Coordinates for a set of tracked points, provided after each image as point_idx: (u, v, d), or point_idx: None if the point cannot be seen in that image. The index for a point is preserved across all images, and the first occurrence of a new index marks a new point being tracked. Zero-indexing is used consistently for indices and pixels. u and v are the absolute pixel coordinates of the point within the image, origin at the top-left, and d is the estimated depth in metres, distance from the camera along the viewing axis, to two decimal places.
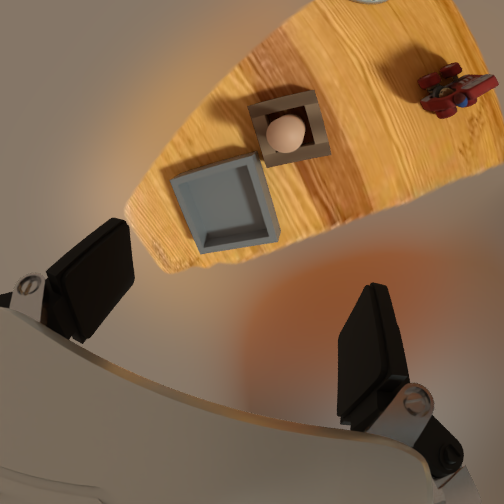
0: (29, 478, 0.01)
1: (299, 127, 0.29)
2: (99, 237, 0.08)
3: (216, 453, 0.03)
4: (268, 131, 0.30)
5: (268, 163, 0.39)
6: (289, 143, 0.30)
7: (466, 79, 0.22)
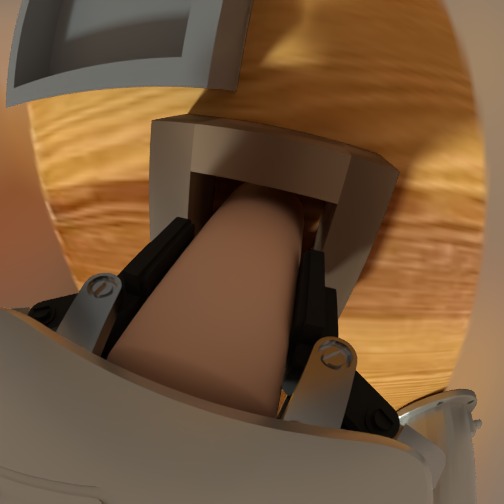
0: (29, 478, 0.01)
1: None
2: (171, 236, 0.09)
3: (216, 454, 0.03)
4: (227, 385, 0.05)
5: (163, 132, 0.10)
6: None
7: None
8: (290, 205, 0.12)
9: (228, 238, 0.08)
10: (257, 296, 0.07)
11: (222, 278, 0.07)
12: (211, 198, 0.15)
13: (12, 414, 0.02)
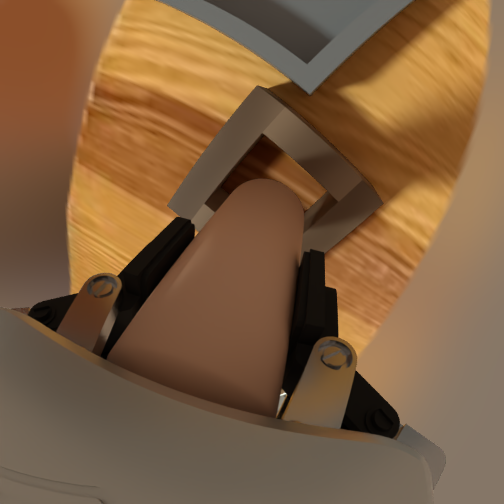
0: (29, 478, 0.01)
1: None
2: (171, 236, 0.09)
3: (216, 453, 0.03)
4: (227, 385, 0.05)
5: (260, 98, 0.13)
6: None
7: None
8: (290, 205, 0.12)
9: (228, 237, 0.08)
10: (257, 296, 0.07)
11: (222, 278, 0.07)
12: None
13: (12, 414, 0.02)
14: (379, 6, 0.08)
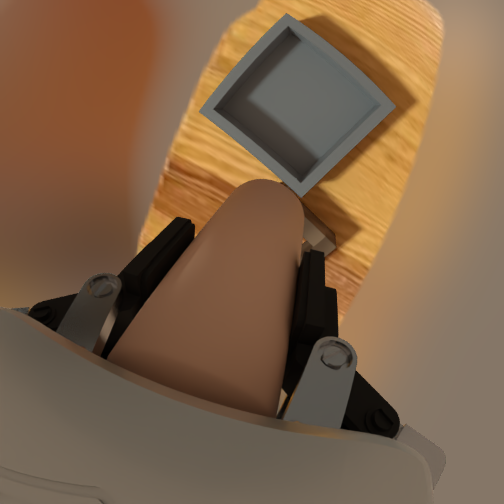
0: (29, 478, 0.01)
1: None
2: (171, 236, 0.09)
3: (217, 454, 0.03)
4: (227, 387, 0.05)
5: None
6: None
7: None
8: (290, 206, 0.12)
9: (228, 239, 0.08)
10: (257, 297, 0.07)
11: (222, 279, 0.07)
12: None
13: (12, 414, 0.02)
14: (341, 147, 0.26)
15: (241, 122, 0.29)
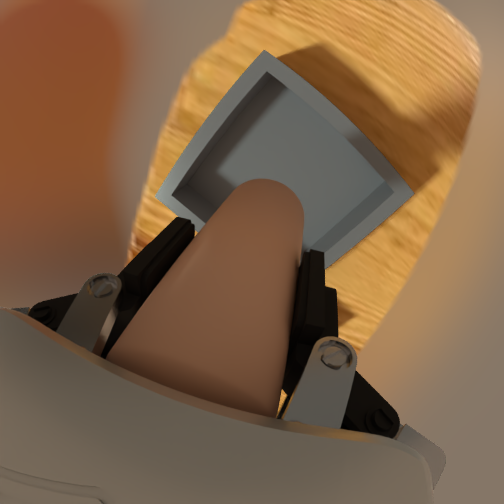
0: (29, 478, 0.01)
1: None
2: (171, 236, 0.09)
3: (217, 454, 0.03)
4: (227, 387, 0.05)
5: None
6: None
7: None
8: (290, 205, 0.12)
9: (227, 238, 0.08)
10: (257, 297, 0.07)
11: (222, 278, 0.07)
12: None
13: (12, 414, 0.02)
14: (335, 248, 0.21)
15: (211, 202, 0.25)
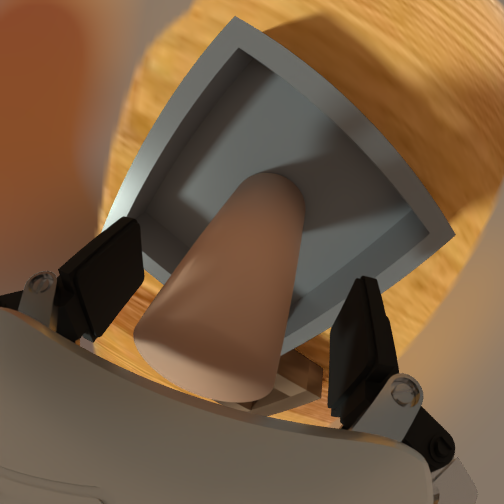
0: (29, 478, 0.01)
1: (215, 398, 0.08)
2: (111, 236, 0.08)
3: (216, 453, 0.03)
4: (235, 345, 0.06)
5: None
6: (168, 361, 0.08)
7: None
8: (292, 197, 0.13)
9: (236, 227, 0.10)
10: (260, 275, 0.08)
11: (232, 260, 0.08)
12: None
13: (12, 414, 0.02)
14: (340, 307, 0.15)
15: (176, 235, 0.19)
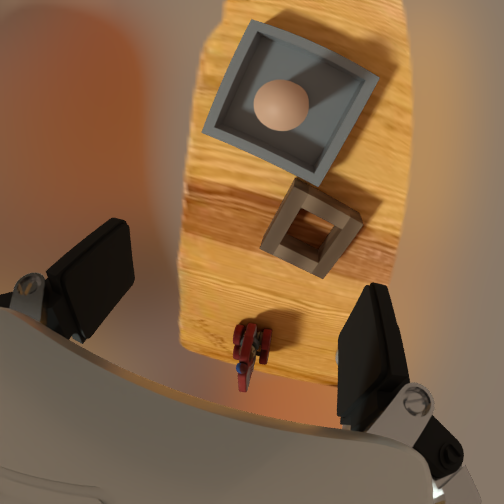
0: (29, 478, 0.01)
1: (290, 127, 0.20)
2: (99, 237, 0.08)
3: (217, 453, 0.03)
4: (290, 83, 0.18)
5: (296, 192, 0.32)
6: (268, 110, 0.20)
7: (252, 367, 0.49)
8: None
9: None
10: None
11: None
12: None
13: (12, 414, 0.02)
14: (341, 130, 0.26)
15: (243, 131, 0.31)
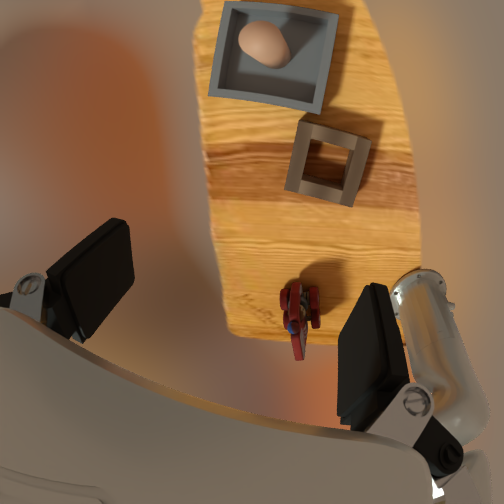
0: (29, 478, 0.01)
1: (272, 51, 0.21)
2: (98, 237, 0.08)
3: (216, 453, 0.03)
4: (261, 22, 0.19)
5: (302, 125, 0.32)
6: (251, 44, 0.21)
7: (305, 332, 0.48)
8: None
9: None
10: None
11: None
12: None
13: (12, 414, 0.02)
14: (323, 62, 0.27)
15: (244, 90, 0.33)
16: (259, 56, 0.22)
